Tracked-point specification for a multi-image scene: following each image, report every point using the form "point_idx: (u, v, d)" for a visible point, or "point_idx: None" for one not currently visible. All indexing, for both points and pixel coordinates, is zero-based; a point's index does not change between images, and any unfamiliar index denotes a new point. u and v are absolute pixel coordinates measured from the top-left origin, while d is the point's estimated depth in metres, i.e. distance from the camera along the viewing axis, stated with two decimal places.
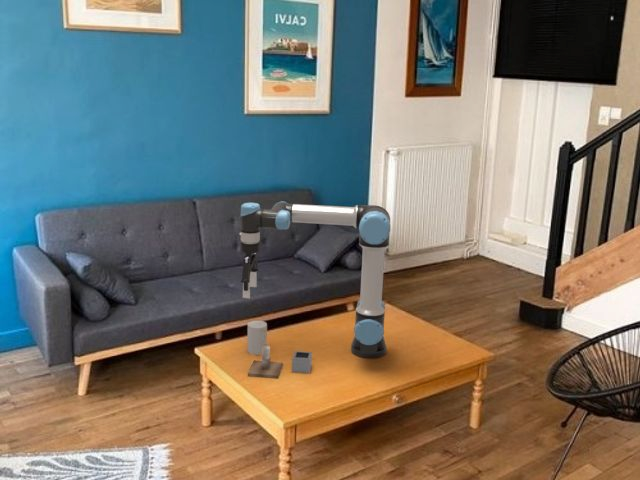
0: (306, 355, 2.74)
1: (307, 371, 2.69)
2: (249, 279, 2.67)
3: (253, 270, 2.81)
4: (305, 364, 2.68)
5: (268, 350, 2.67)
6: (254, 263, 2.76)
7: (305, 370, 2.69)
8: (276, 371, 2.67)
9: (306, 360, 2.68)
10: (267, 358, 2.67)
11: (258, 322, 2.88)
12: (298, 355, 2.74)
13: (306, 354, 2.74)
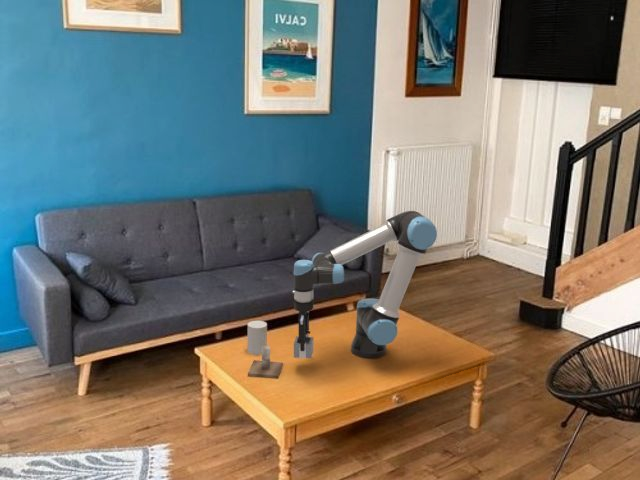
0: (308, 340, 2.72)
1: (309, 356, 2.67)
2: (305, 338, 2.65)
3: (305, 332, 2.73)
4: (307, 349, 2.67)
5: (268, 350, 2.67)
6: None
7: (307, 355, 2.67)
8: (276, 371, 2.67)
9: (308, 345, 2.66)
10: (267, 358, 2.67)
11: (258, 322, 2.88)
12: None
13: (308, 339, 2.72)
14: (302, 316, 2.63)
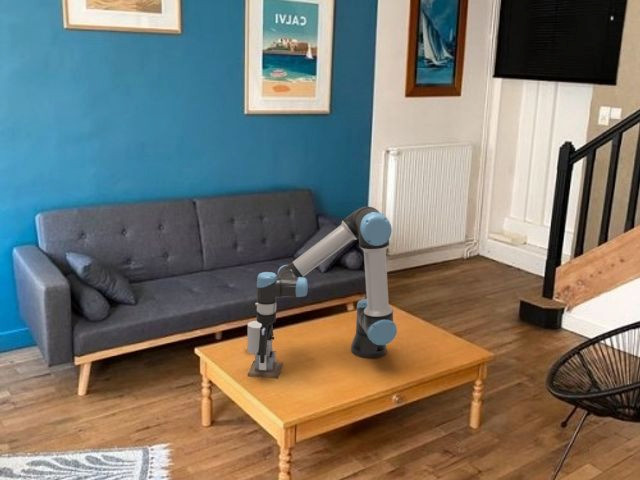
0: (270, 354, 2.71)
1: (270, 370, 2.66)
2: None
3: (269, 338, 2.74)
4: (268, 363, 2.65)
5: (268, 350, 2.67)
6: (270, 332, 2.70)
7: (268, 369, 2.66)
8: (276, 371, 2.67)
9: (269, 359, 2.65)
10: None
11: None
12: None
13: (270, 353, 2.71)
14: (264, 328, 2.61)
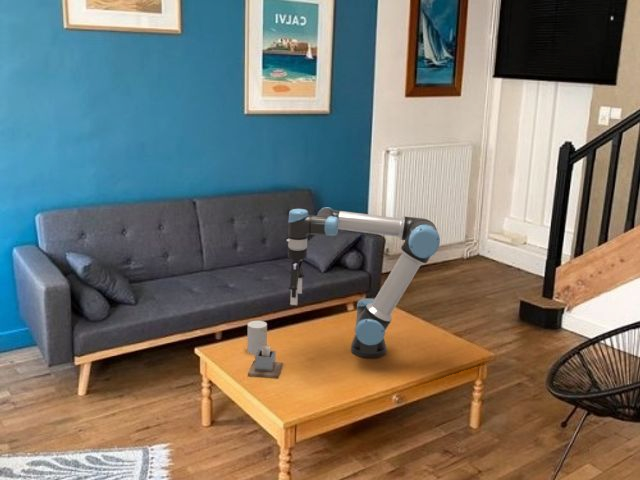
0: (270, 354, 2.71)
1: (270, 370, 2.66)
2: (297, 286, 2.65)
3: (299, 276, 2.79)
4: (268, 363, 2.65)
5: (268, 350, 2.67)
6: (300, 269, 2.74)
7: (268, 369, 2.66)
8: (276, 371, 2.67)
9: (269, 359, 2.65)
10: None
11: (258, 322, 2.88)
12: None
13: (270, 353, 2.71)
14: (295, 263, 2.66)
